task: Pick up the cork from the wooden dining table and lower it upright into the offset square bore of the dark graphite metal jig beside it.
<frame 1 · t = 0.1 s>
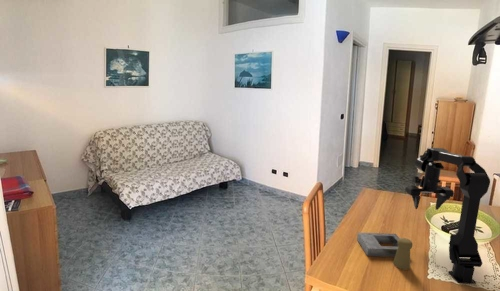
hand: (426, 209, 140), 15 cm above the table, fingers open, 9 cm apart
jig: (381, 248, 135), on the table
cork: (401, 265, 123), on the table
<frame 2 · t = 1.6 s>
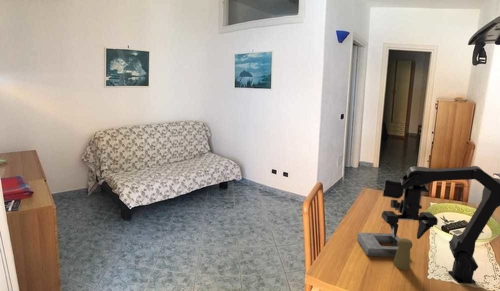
hand: (405, 238, 121), 12 cm above the table, fingers open, 9 cm apart
nothing on the table moved.
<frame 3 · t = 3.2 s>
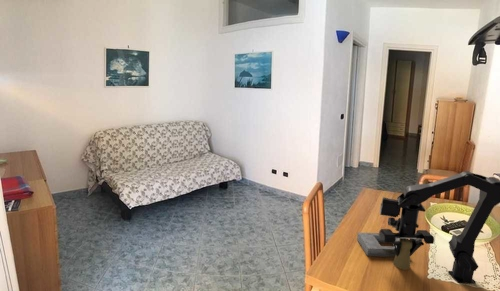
hand: (403, 255, 122), 4 cm above the table, fingers closed on cork, 4 cm apart
cork: (401, 265, 123), on the table, touching gripper
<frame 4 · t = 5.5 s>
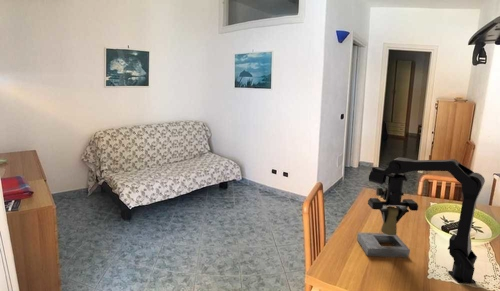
hand: (390, 223, 132), 12 cm above the table, fingers closed on cork, 4 cm apart
cork: (388, 232, 133), point 8 cm above the table, touching gripper
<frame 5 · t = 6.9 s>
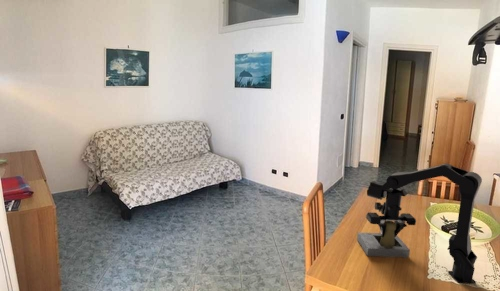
hand: (388, 237, 133), 5 cm above the table, fingers closed on cork, 4 cm apart
cork: (386, 245, 134), point 1 cm above the table, touching gripper
when the fingers open (5 cm above the table, at t = 7.8 s): cork stays where it is, resting in jig.
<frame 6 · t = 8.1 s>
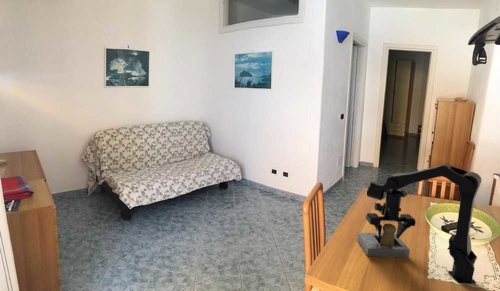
hand: (387, 237, 134), 5 cm above the table, fingers open, 8 cm apart
cork: (386, 248, 135), resting in jig
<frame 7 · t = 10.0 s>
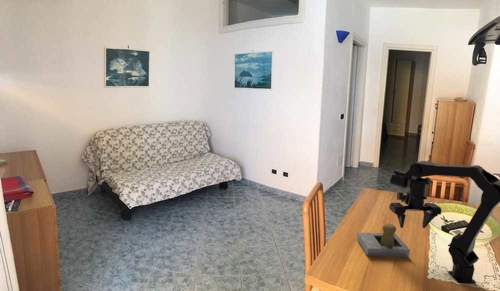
hand: (412, 227, 129), 12 cm above the table, fingers open, 9 cm apart
nothing on the table moved.
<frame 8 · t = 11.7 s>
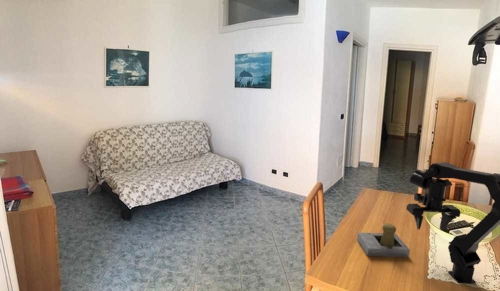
hand: (429, 229, 127), 12 cm above the table, fingers open, 9 cm apart
nothing on the table moved.
at the end: cork 0.1 cm from the target spot on the jig, point 0.0 cm above the jig's base; cork tilted 0°; the gripper is holding nothing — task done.
